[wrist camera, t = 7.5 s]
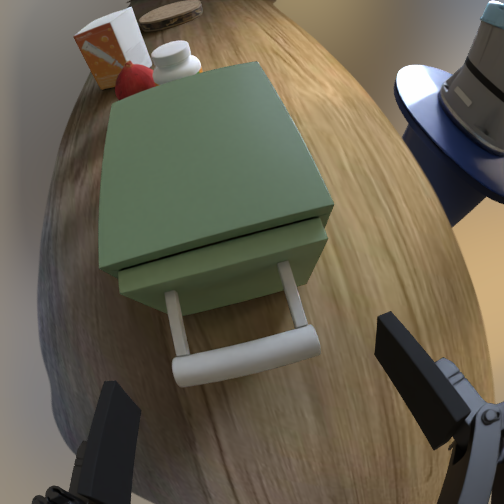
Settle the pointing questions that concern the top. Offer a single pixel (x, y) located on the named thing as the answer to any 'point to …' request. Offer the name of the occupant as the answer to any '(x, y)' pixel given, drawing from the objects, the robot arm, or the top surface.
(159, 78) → the supplement bottle
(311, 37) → the top surface
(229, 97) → the cabinet
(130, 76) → the onion
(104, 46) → the small box
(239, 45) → the top surface
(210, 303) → the drawer
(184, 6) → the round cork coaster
